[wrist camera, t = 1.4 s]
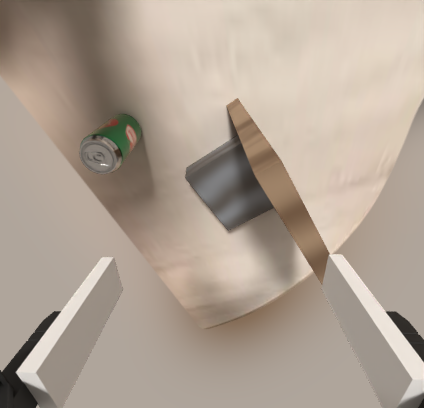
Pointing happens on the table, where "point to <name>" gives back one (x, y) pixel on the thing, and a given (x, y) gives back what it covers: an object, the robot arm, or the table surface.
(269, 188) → the wall board
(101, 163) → the soda can
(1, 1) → the table surface
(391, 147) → the table surface
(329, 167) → the table surface
